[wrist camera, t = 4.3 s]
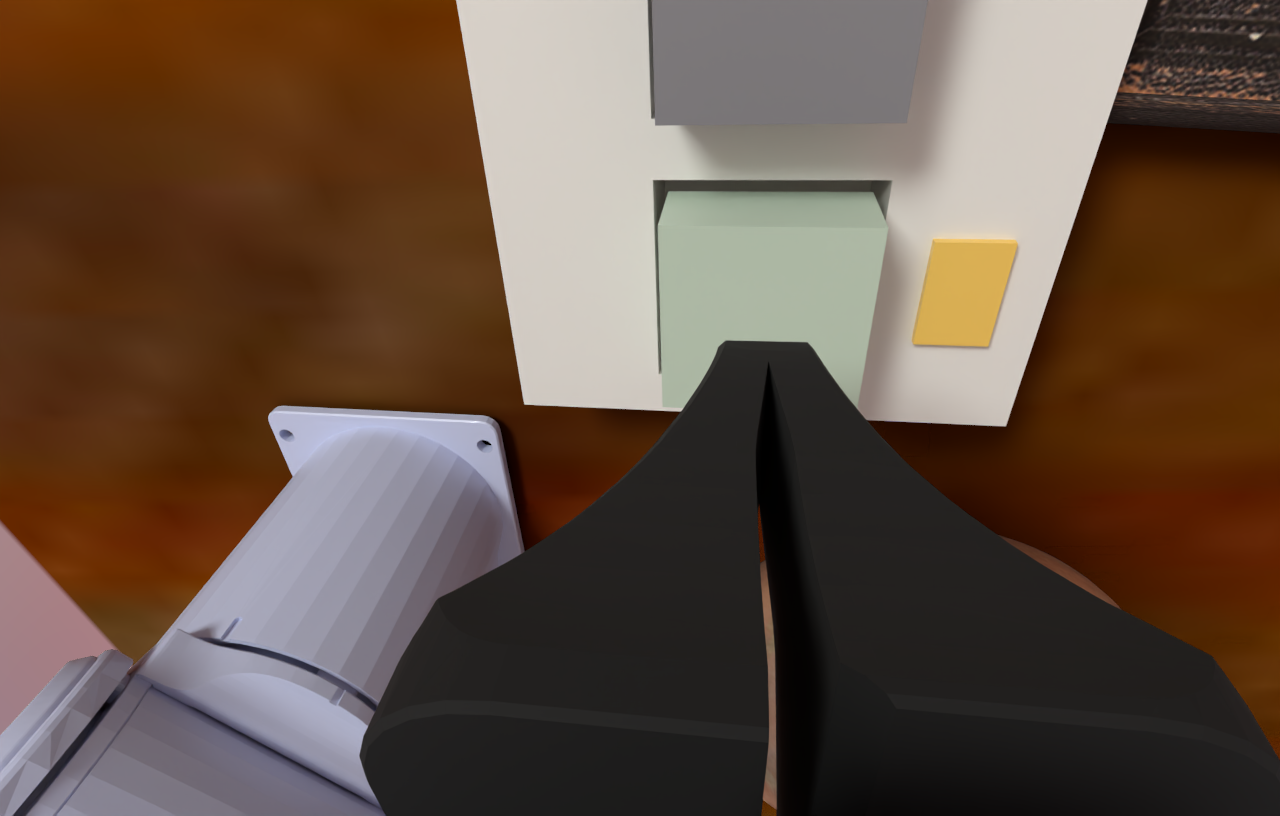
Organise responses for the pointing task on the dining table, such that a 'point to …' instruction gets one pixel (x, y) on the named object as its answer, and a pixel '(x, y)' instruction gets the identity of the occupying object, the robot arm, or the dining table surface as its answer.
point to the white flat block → (793, 162)
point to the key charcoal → (785, 61)
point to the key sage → (767, 279)
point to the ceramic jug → (770, 776)
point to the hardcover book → (1204, 67)
